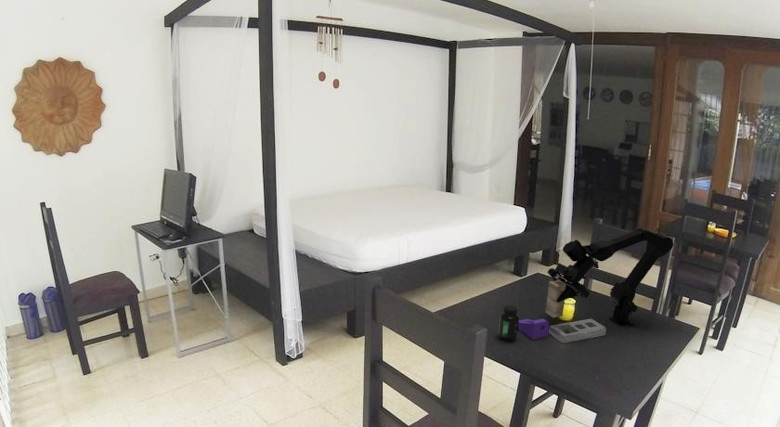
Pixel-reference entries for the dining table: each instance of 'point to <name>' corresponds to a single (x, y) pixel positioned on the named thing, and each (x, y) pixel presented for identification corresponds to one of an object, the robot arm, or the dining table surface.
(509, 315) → the supplement bottle
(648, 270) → the robot arm
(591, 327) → the grey flat block
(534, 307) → the dining table surface
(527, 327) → the bracket
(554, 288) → the peg
